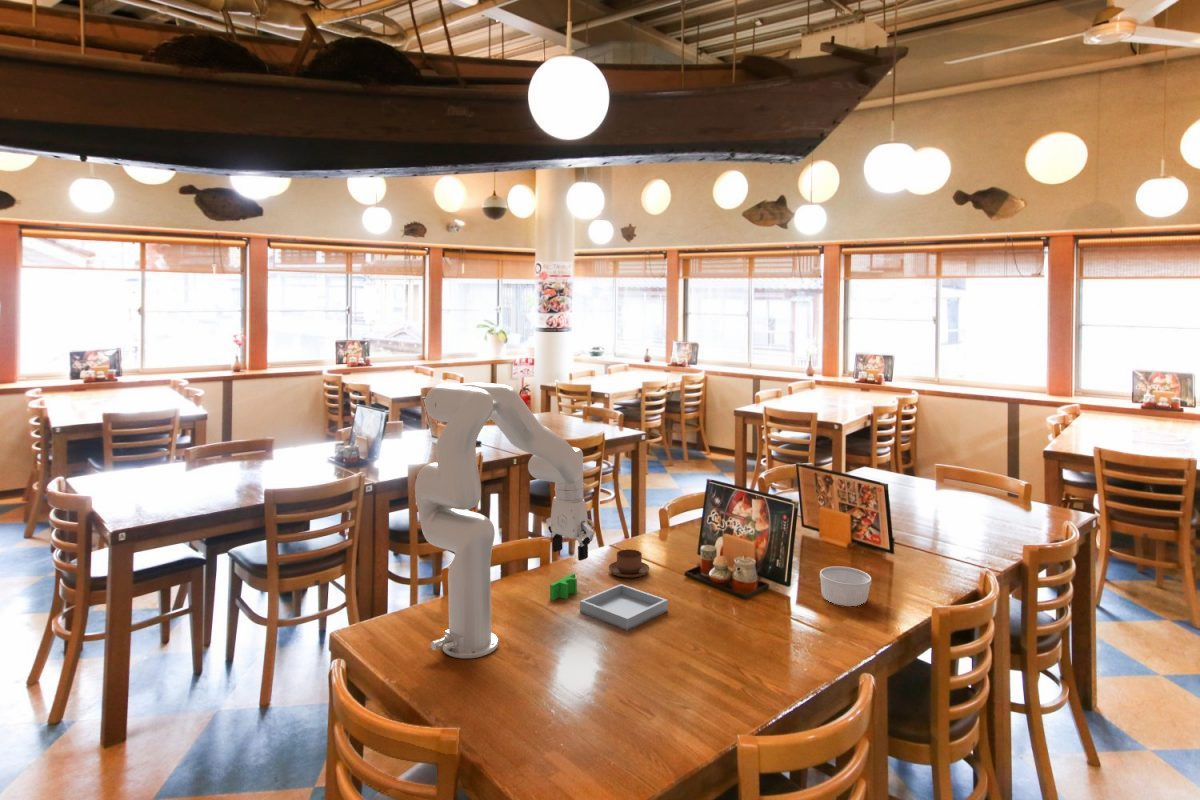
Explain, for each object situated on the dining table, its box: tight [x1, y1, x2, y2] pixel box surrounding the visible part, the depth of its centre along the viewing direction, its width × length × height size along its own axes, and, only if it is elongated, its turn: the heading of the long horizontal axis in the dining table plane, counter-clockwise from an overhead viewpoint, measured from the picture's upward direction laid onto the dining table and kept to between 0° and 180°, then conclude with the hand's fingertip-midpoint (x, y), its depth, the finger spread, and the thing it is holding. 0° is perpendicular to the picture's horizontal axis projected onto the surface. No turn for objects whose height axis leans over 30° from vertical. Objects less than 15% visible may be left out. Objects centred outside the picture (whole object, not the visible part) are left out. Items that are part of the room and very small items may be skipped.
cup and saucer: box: [608, 548, 650, 579], centre depth 213 cm, size 12×12×6 cm
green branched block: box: [549, 572, 578, 601], centre depth 196 cm, size 10×4×4 cm, turn 148°
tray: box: [579, 583, 669, 632], centre depth 185 cm, size 16×16×3 cm
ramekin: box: [819, 565, 872, 606], centre depth 194 cm, size 13×13×7 cm
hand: (570, 554), depth 195 cm, fingers open, 9 cm apart
